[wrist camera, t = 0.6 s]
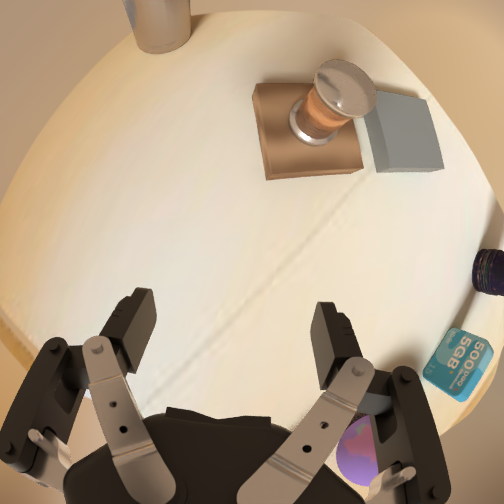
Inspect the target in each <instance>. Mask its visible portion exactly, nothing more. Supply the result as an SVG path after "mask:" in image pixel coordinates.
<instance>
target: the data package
mask: <svg viewBox="0 0 504 504" xmlns="http://www.w3.org/2000/svg"><path fill="white" fill-rule="evenodd" d="M493 354H494V352H493V349H492V347H491V345H490V344H489V342H488V341H487V340H486V339H483V338H481V337H478V336H476V335H473V334H471V333H468V332H466V331H463V330H460V329H458V328H451V329H450V330H449V331H448V332H447V334H446V335H445V337H444V339H443V340H442V342H441V344H440V345H439V347H438V349H437V350H436V352H435V354H434V355H433V357H432V358H431V360H430V361H429V363H428V364H427V366H426V367H425V369H424V371H423V377H424V378H425V379H426V380H428V381H429V382H430V383H432V384H433V385H435V386H436V387H438V388H439V389H441V390H442V391H444V392H445V393H447V394H448V395H450V396H451V397H453V398H454V399H456V400H457V401H459V402H463V401H465V400H467V399H468V397H469V396H470V394H471V393H472V391H473V390H474V388H475V387H476V385H477V383H478V382H479V380H480V379H481V377H482V375H483V373H484V372H485V370H486V368H487V366H488V365H489V363H490V361H491V359H492V357H493Z"/></svg>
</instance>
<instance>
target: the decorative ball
mask: <svg viewBox="0 0 504 504" xmlns="http://www.w3.org/2000/svg"><path fill="white" fill-rule="evenodd" d="M336 460H337V464H338V467H339V469H340V471H341V473H342V474H343V475H344V476H345V477H346V478H347V479H348V480H349V481H351V482H353V483H355V484H358V485H361V486H370V483H371V481H372V479H373V478H374V477H375V476H377V475H378V474H379V473H378V466H377V459H376V452H375V446H374V440H373V434H372V429H371V423H370V418H369V414H368V415H366V416H364V417H362V418H360V419H358V420H357V421H355V422H354V423H353V424H352V425H350V426H349V427H348V429H347V430H346V431H345V432H344V434H343V435H342V437H341V439H340V441H339V443H338V447H337V451H336Z"/></svg>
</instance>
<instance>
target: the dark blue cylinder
mask: <svg viewBox="0 0 504 504" xmlns="http://www.w3.org/2000/svg"><path fill="white" fill-rule="evenodd" d="M472 281H473V286H474V288H475V289H476V290H477V291H479V292H483V293H486V294H489V295H496V296H497V295H501V296H504V252H503V251H502V250H496V249H488V250H487V249H481V250H480V251H479V252H478V253H477V255H476V257H475V260H474V263H473V269H472Z"/></svg>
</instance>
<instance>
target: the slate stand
mask: <svg viewBox="0 0 504 504" xmlns="http://www.w3.org/2000/svg"><path fill="white" fill-rule="evenodd" d="M376 92H377V103H376V106H375V107H374V109H373V110H372V111H370V112H369V113H368V114H366V115H365V116H364V120H365V123H366V127H367V131H368V135H369V139H370V143H371V148H372V152H373V157H374V162H375V167H376V172H377V173H380V172H433V171H437V170H441V169H444V164H443V160H442V155H441V151H440V147H439V143H438V139H437V135H436V131H435V128H434V124H433V121H432V118H431V114H430V111H429V108H428V105H427V102H426V100H424V99H419V98H415V97H411V96H406V95H401V94H396V93H390V92H385V91H378V90H376Z"/></svg>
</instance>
